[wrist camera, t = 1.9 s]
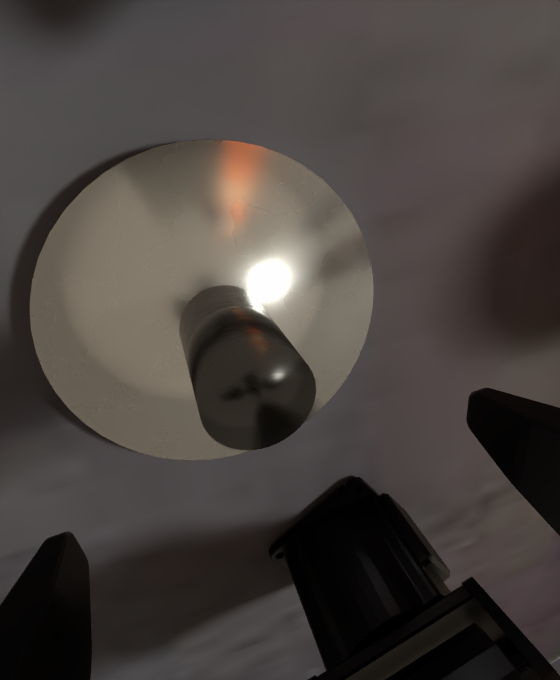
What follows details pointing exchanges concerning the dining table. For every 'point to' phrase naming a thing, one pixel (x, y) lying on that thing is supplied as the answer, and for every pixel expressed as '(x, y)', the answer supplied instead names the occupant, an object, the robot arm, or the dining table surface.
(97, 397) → the lid
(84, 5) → the dining table surface
